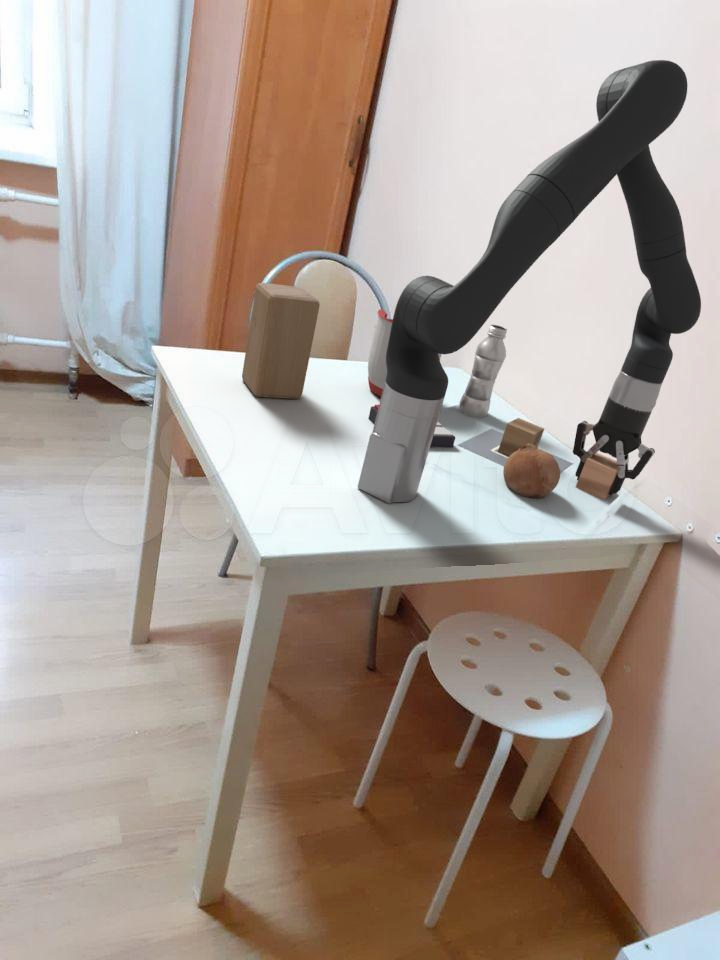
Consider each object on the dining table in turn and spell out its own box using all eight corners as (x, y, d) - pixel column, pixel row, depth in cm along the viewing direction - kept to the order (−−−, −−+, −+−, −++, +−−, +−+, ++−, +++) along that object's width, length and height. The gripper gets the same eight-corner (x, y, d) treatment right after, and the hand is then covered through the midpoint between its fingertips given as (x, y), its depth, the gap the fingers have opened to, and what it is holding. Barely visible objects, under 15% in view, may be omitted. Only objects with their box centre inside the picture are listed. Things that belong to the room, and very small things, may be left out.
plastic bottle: (452, 415, 154) (479, 324, 145) (462, 408, 160) (489, 320, 151) (479, 425, 152) (508, 334, 143) (489, 418, 157) (517, 330, 149)
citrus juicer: (392, 377, 169) (414, 293, 160) (443, 406, 158) (469, 318, 149) (341, 379, 159) (360, 289, 150) (391, 411, 148) (415, 316, 139)
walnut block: (523, 463, 135) (533, 434, 132) (497, 451, 137) (507, 423, 134) (534, 456, 139) (544, 428, 136) (508, 445, 141) (518, 417, 139)
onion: (499, 500, 128) (495, 444, 127) (551, 495, 128) (547, 439, 127) (514, 507, 118) (510, 447, 117) (569, 502, 119) (566, 441, 118)
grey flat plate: (542, 490, 128) (544, 483, 128) (455, 450, 136) (457, 444, 135) (570, 468, 141) (573, 462, 140) (490, 433, 149) (491, 428, 148)
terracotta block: (603, 501, 128) (616, 471, 125) (574, 488, 130) (586, 458, 127) (612, 493, 132) (624, 464, 129) (584, 480, 134) (595, 452, 132)
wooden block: (239, 379, 145) (255, 280, 136) (286, 381, 149) (303, 286, 141) (254, 398, 137) (271, 295, 128) (302, 400, 142) (322, 301, 133)
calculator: (418, 404, 145) (457, 433, 133) (414, 424, 146) (451, 454, 134) (370, 402, 140) (406, 431, 128) (366, 422, 141) (401, 453, 129)
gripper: (585, 389, 123) (552, 475, 131) (667, 420, 117) (628, 509, 124) (598, 383, 129) (565, 466, 137) (677, 412, 123) (638, 498, 130)
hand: (595, 486), depth 131 cm, fingers closed on terracotta block, 5 cm apart
